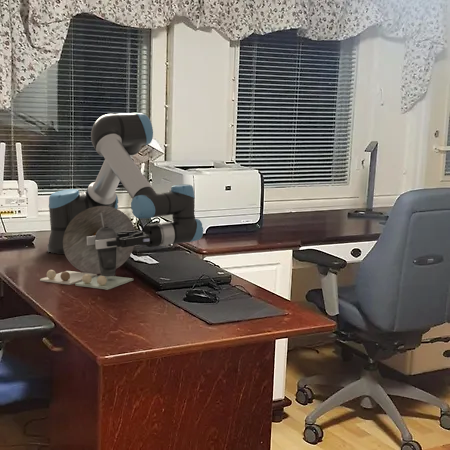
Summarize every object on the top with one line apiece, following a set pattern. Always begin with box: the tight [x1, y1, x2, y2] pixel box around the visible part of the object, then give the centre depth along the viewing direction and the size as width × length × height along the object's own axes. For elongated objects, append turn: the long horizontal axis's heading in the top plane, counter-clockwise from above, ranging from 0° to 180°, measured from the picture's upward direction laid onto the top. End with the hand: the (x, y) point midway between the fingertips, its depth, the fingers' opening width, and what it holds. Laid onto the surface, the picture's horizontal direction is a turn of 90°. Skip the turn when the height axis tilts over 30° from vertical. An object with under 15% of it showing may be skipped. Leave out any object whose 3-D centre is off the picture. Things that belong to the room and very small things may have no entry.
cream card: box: [39, 269, 98, 286], centre depth 243 cm, size 13×13×4 cm
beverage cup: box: [95, 213, 117, 277], centre depth 235 cm, size 7×7×20 cm
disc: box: [63, 206, 135, 275], centre depth 258 cm, size 25×18×25 cm
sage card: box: [74, 274, 134, 291], centre depth 235 cm, size 13×13×4 cm
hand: (91, 242), depth 232 cm, fingers closed on beverage cup, 7 cm apart
